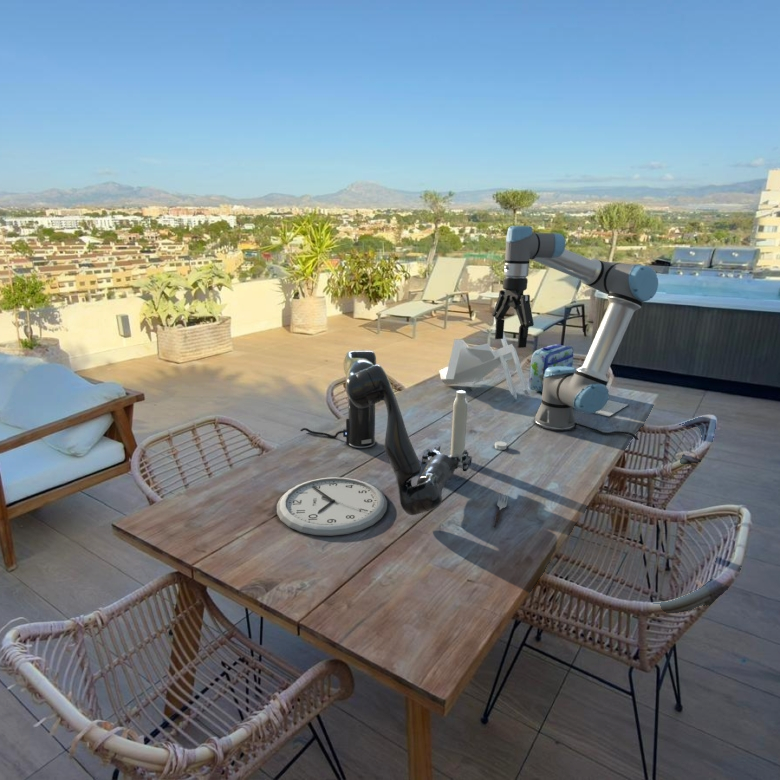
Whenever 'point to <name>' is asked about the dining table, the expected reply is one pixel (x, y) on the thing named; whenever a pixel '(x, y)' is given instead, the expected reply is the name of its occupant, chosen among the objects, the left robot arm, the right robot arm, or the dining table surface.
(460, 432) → the bottle
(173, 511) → the dining table surface
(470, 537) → the dining table surface
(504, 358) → the white plastic object
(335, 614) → the dining table surface
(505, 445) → the cap
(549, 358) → the lunch box
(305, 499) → the wall clock
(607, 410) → the invitation card
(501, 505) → the fork
